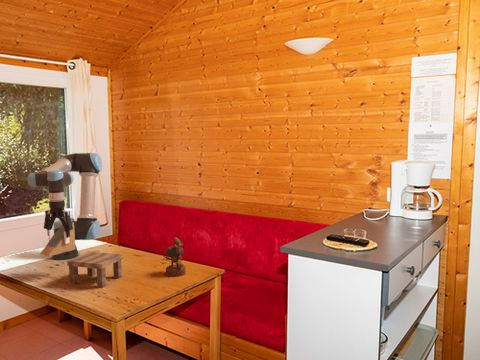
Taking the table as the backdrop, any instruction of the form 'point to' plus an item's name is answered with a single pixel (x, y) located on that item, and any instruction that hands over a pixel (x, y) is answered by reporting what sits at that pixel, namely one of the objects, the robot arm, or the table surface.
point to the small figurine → (175, 260)
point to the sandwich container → (59, 243)
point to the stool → (95, 266)
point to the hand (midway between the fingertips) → (59, 242)
